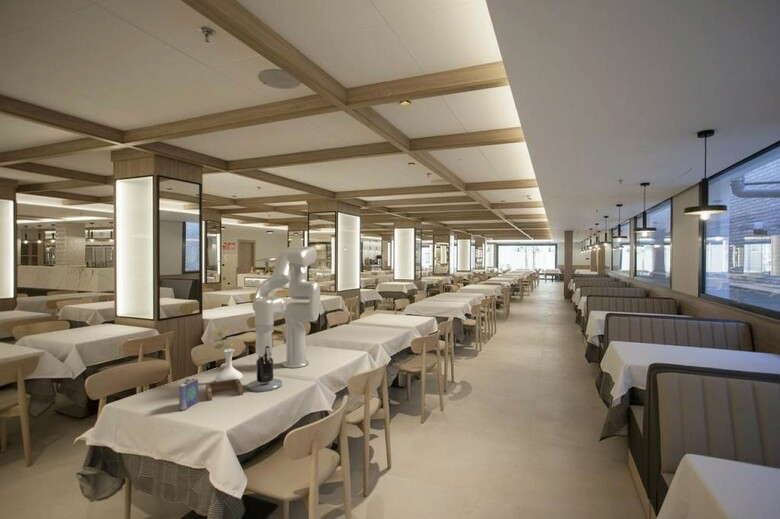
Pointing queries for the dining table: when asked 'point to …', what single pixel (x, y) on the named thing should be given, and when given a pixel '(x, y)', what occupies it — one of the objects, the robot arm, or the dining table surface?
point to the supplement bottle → (259, 368)
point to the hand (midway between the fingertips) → (264, 370)
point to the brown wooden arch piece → (223, 387)
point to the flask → (188, 393)
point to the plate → (264, 385)
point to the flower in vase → (229, 371)
